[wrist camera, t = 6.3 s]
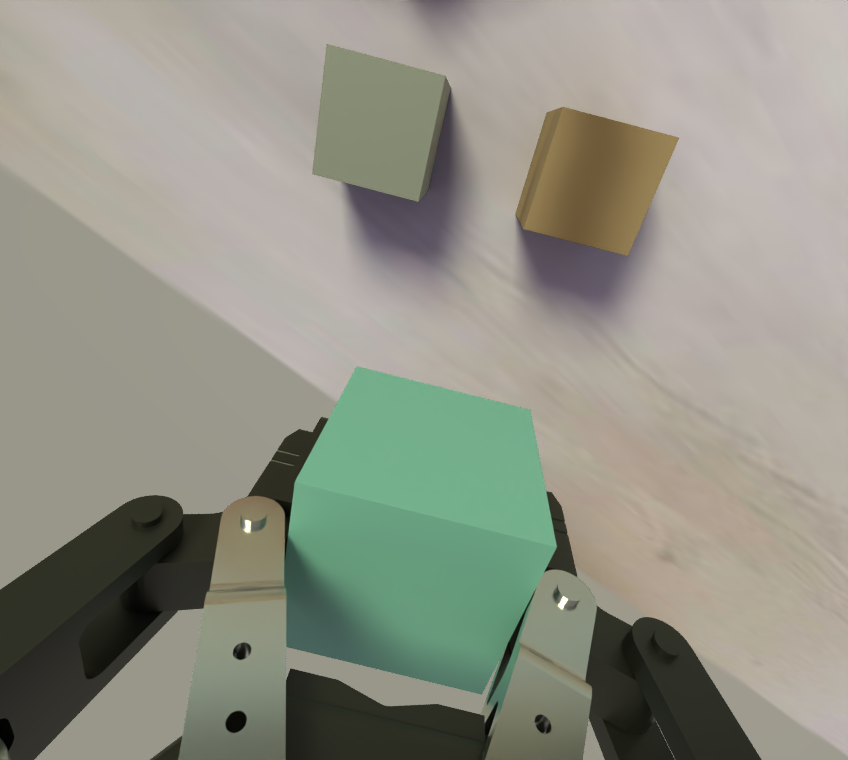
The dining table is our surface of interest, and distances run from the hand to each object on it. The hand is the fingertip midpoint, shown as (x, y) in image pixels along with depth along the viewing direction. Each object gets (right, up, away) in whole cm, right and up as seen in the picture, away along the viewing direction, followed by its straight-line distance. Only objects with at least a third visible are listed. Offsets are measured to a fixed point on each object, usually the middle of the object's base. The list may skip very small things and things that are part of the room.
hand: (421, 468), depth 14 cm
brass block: (+8, +13, +11) cm, 19 cm away
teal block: (0, 0, 0) cm, 1 cm away
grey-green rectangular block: (-2, +16, +11) cm, 19 cm away
